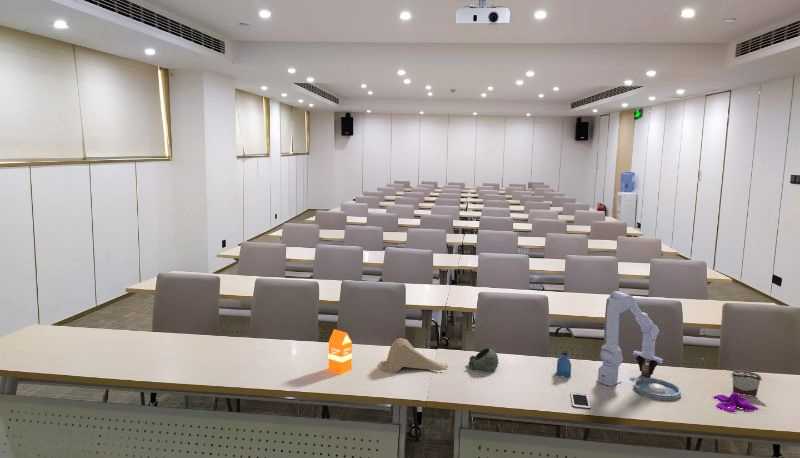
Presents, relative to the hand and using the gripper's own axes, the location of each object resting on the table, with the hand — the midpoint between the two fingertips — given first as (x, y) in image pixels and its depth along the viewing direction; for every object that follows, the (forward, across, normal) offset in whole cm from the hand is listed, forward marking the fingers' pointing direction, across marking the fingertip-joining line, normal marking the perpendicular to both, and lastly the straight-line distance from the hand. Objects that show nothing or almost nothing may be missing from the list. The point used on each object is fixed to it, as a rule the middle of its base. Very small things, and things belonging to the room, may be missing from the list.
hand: (646, 372), depth 286 cm
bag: (+2, +73, +91) cm, 116 cm away
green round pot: (+2, +53, +62) cm, 81 cm away
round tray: (+2, -13, +13) cm, 18 cm away
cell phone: (+2, 0, +53) cm, 53 cm away
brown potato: (+2, 0, 0) cm, 2 cm away
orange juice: (+2, +90, +124) cm, 153 cm away
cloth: (+2, -42, -3) cm, 42 cm away
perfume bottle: (+2, +24, +34) cm, 42 cm away
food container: (+2, -37, -20) cm, 42 cm away
